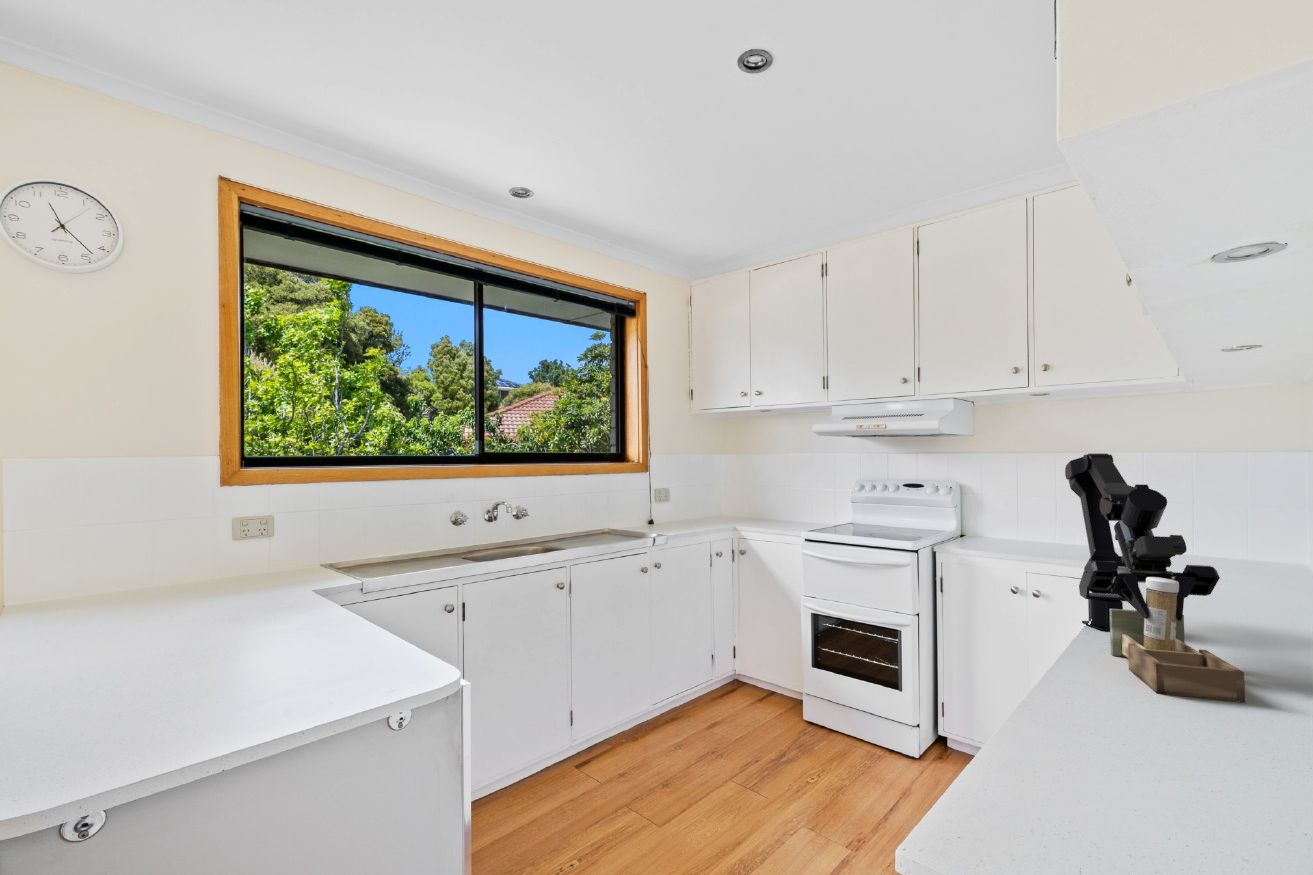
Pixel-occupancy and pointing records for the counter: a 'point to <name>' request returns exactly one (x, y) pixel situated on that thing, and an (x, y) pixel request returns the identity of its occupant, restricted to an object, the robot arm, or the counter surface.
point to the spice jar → (1160, 613)
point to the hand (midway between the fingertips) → (1163, 618)
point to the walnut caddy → (1189, 676)
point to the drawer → (1131, 631)
